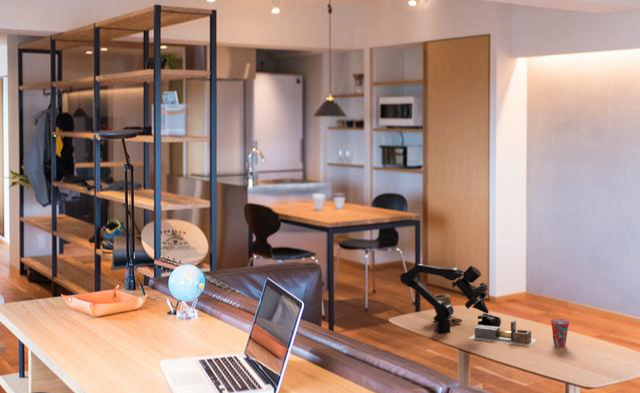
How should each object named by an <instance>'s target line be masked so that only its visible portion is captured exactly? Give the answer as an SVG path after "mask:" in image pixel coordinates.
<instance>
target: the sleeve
mask: <svg viewBox="0 0 640 393" xmlns="http://www.w3.org/2000/svg"><path fill="white" fill-rule="evenodd" d="M497 330H499V331H500V327H494V326H485V325H478V324H477V325H476V326H475V327H474V334H475V337H477V338H485V339H492V340H496V331H497Z"/></svg>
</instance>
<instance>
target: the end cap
mask: <svg viewBox="0 0 640 393" xmlns="http://www.w3.org/2000/svg"><path fill="white" fill-rule="evenodd" d="M477 319H478V321H477V326H478V325H485V326H494V327H499V328H500V327H501V324H502V320H501V318H500V317H499V316H496V315H492V314H490V313H489V314H488V313H485V312H483V313H482V315H481V314H480V315H478V316H477Z"/></svg>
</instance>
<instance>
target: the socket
mask: <svg viewBox="0 0 640 393" xmlns="http://www.w3.org/2000/svg"><path fill="white" fill-rule="evenodd" d="M531 339H532V330H526V329H516V332H514V342H515V343H523V344H528V343H529V342H530V341H531Z"/></svg>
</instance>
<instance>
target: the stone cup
mask: <svg viewBox="0 0 640 393" xmlns="http://www.w3.org/2000/svg"><path fill="white" fill-rule="evenodd" d="M435 296H436V297H437V298H438V299H439V300H440V301H445V300H446V301H447V302H448V303H449V304H451V305H452V299H451V296H450V295H449V294H447V293H446V294H444V293H441V294H436V295H435ZM433 309H434V312H435V316H436V315H437V312H436V310H435V308H434V307H433ZM433 320H434V321H435V319H434V317H433ZM448 320H449V322H450V326H452V325H453V326H454V325H455V326H456V325H458V324H460V323H462V322H463V319H462V318H459V317H455V316H453V315H451V316H450V319H448Z"/></svg>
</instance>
